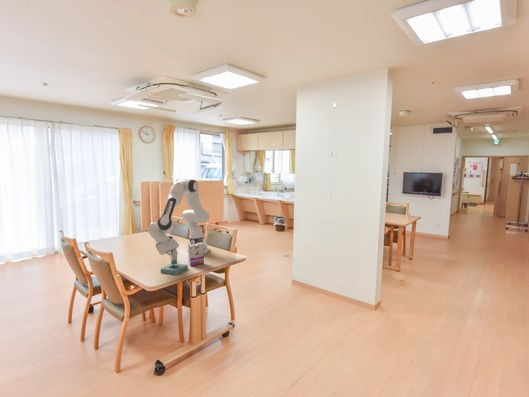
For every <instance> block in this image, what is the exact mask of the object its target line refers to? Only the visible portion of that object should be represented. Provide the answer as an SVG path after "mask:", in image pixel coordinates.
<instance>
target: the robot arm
mask: <svg viewBox="0 0 529 397" xmlns="http://www.w3.org/2000/svg"><path fill="white" fill-rule="evenodd" d="M198 188H199V185H198V182H197V180H195V179H189V178H184V179H183V178H182V179H179V178H177V179H175V180H173V182H172V184H171V186H170V189H169V192H168V194H167V198H166V205H165V207H164V210H163V213H162V214H161V216H159V218H158V220H157V222H151V223H150V224H149V225H148V226H147V229H146V230H147V233H148V234H149V236H150V237H151V238H152V239H153V240H154V242H155V243H156V244H155V248H156V250H157V252H158V254H160V255H161V256H163V255H165V254H166V255H167V256H169V257H170V258H171V257H173V256H174V255H173V254H171V250H177V249H178V248H179V247H180V244H179V243H178V242H177V241H176V239H174V237H173V236H172V235H168V234H169V233H170V232H172V231H173V229H174V224H173V221H172V220H173V219H172V215H173V213H174V210H175V208H176V207H178V206H180V205H181V202H182V200H183V198H184V193H185V198H186V204H187V207H189V208H190V209H186V210H184V211H182V219H183V220H184V222H185V223H186V224H187V226H188V228H189V242H188V245H192V244H198V243H202V244H203V249H204V254H207V253H208V251H210V250H211V248H210V247H208V243H207V242H206V241H205V240H204V239H205V235H204V236H203V228H202V227H201V226H200V225H199V224H198V223H200V224H201V223H202V224H203V223H207V222H209V220H210V217H211V216H210V213H209V211H207V210H206V209H205V208H204V207H203V205H202V203H201V199H200V194H199V189H198ZM186 252H187V253H188V249H187V251H186ZM177 255H179V253H178V251H177Z"/></svg>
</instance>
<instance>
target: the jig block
mask: <svg viewBox="0 0 529 397" xmlns="http://www.w3.org/2000/svg"><path fill="white" fill-rule="evenodd" d="M188 266H189V264H183V263H177V264H171V263H169V264H166V265H165V266H163V267H161V268H160V273H161V274H169V275H176V276H177V275H180V274H181V273H183V272H185V271H186V270H188V269H189V267H188Z"/></svg>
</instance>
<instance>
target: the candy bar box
mask: <svg viewBox="0 0 529 397" xmlns="http://www.w3.org/2000/svg"><path fill="white" fill-rule="evenodd" d="M187 246H188V247H187V248H188V249H187V250H188V252H187V254H188V266H190V267H195V266H199V265H204V264H205V258H204V257H205V256H204V254H205V253H204V249H203V244H202V243H198V244H192V245H189V244H188V245H187Z"/></svg>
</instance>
